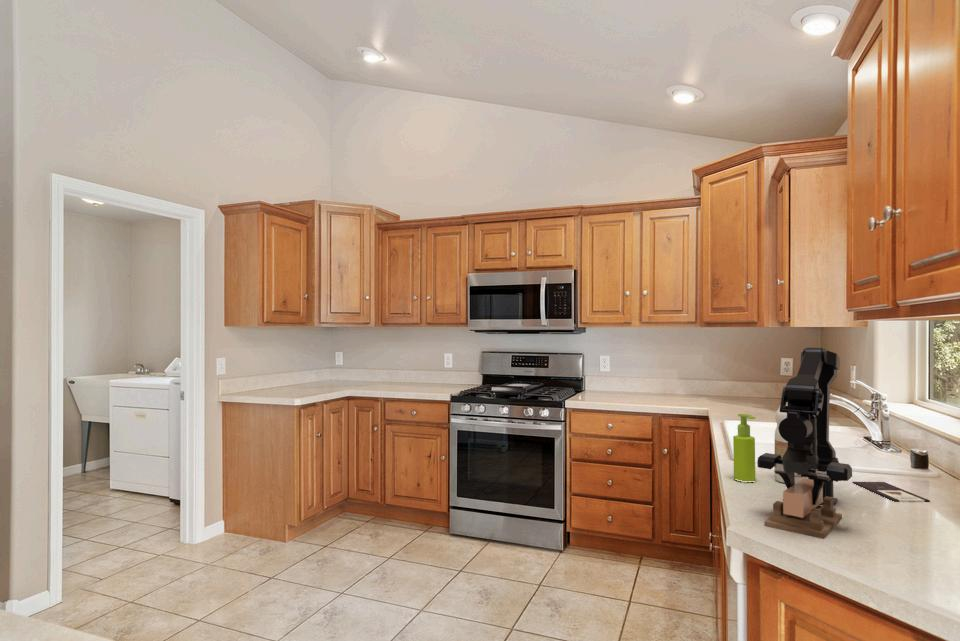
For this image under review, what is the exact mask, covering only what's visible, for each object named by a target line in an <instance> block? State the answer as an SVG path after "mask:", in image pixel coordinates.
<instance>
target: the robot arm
mask: <svg viewBox="0 0 960 641" xmlns="http://www.w3.org/2000/svg"><path fill="white" fill-rule="evenodd" d="M840 368H841V360H840V357H839V355H838V353H836V352H833V351H830V350H828V349H826V348H823V347H805V348H803V349H802V352H800V364H799V368H798V371H797V374H796V375H795V376H794V377H791V378H790V379H788V381H787V382H786V385H785V386H784V387H783V388H782V393H781V400H780V405H779V407H780V412H783V413H787V418H785V419H783V420H782V421H781V423H780V424H779V428H778V430H779V433H780V435H781V437H782V438H783V439H784V440H786V441H788V447H787V450H786V452H785V454H784V455H783V457H782V458H781V455H777V454H775V453H769V452H765V453H763V454H760V455H759V456H758V457H757V460H756V461H757V462H756V463H757V468H759V469H760V468H761V469H764V470H766V469H767V470H772V469H773V468H774V466H775V469H776V470H775V471H774V470H773V472H775V473H776V474H779V475H780V476H781V477H782V479H783V480H784V482H785V483H784V484H785V486H786V490H787V489H788V488H790V487H791V486H793V485H794V484H795V478H794V473H798V474H801V476H802V477H803V476H804V477H808V479H811V480H813V481H814V487H813V497H812V501H813V505H815V504H816V502H817V500H818V497H819V495H820V492H821V490H822V487H823V498H824V497H826V496H828V497H833V506H834V505H835V504H836V503H837V502H838V500H839V499H838V498H837V497H834V482H836V483H837V482H842V481H843V482H848V481H849V480H850V479H851V478H852V477H853V468H852V466H851V465H850V464H849V463H841V462H840V461H839V458H838V457H837V455H836V454H837V452H836V450H835V448H834V447H833V445H832V444H831V442H830V439H829V438H830V401H831V400H830V396H831V395H830V393H831V392H830V391H831V390H830V389H831V385H832V384H833V383H834V381H835V380H836V378H837V377H838V371H839V370H840ZM787 402H788V403H787ZM786 404H787V406H786ZM821 504H822V505H823V502H822V503H821ZM821 504H820V505H821Z"/></svg>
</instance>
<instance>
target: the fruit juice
mask: <svg viewBox="0 0 960 641" xmlns="http://www.w3.org/2000/svg"><path fill="white" fill-rule="evenodd" d="M787 403H788V402H787ZM786 406H787V404H786ZM774 415H775V416H774V417H775V423H776V428H775V430H774V454H777V455H781V458H782V457H783V455H784V454H785V452H786V450H787V447H788V441H786V440H784V439H783V438H782V437H781V435H780V433H779V430H778V428H779V424H780V423H781V421H782V420H783V419H785V418H787V413H783V412H780V406H779V407H778V409H776V411H775V414H774ZM773 468H774V470H773V472H774V471H775V470H776V469H775V466H774V467H773ZM773 476H774V480H776V481H777V482H780V483H782V484H783V483H784V484H785V482H784V480H783V479H782V477H781V476H780V475H779V474H776V473H775V472H774V475H773ZM794 478H795V484H796V483H798V482H799V481H801V480H802V479H804V478H805V479H808V477H804V476H803V477H802V476H801V474H798V473H794Z"/></svg>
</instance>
